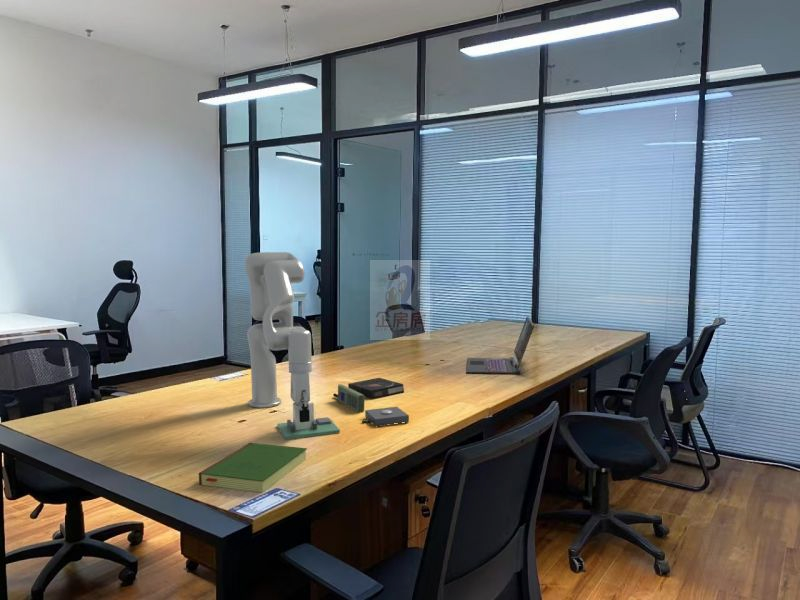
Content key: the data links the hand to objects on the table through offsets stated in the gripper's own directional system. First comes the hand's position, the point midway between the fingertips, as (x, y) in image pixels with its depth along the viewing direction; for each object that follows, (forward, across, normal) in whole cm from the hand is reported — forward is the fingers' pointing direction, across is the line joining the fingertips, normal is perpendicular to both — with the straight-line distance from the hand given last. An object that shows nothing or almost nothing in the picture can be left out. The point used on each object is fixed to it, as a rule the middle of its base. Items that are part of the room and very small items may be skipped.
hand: (301, 417), depth 195 cm
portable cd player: (+5, -39, +39) cm, 55 cm away
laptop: (+5, -63, +112) cm, 129 cm away
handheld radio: (+5, -25, +23) cm, 34 cm away
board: (+4, 0, +2) cm, 5 cm away
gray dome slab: (+4, 0, +28) cm, 29 cm away
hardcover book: (+5, +31, -19) cm, 37 cm away
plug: (+3, 0, 0) cm, 3 cm away
